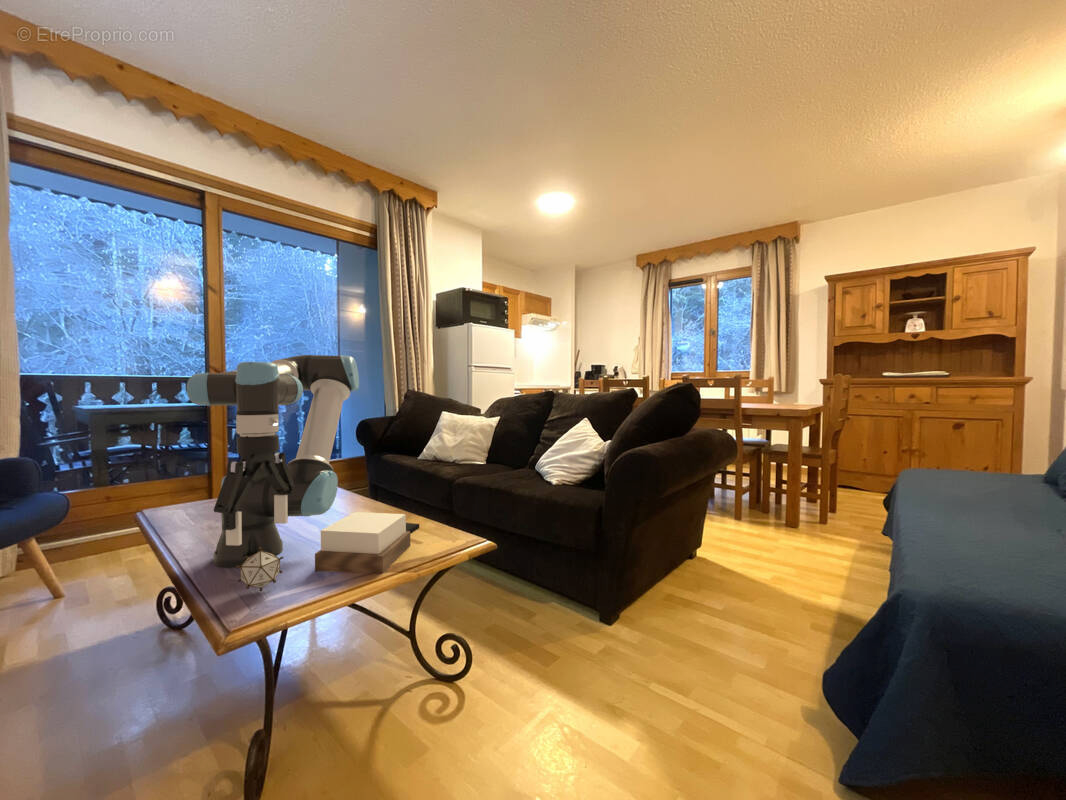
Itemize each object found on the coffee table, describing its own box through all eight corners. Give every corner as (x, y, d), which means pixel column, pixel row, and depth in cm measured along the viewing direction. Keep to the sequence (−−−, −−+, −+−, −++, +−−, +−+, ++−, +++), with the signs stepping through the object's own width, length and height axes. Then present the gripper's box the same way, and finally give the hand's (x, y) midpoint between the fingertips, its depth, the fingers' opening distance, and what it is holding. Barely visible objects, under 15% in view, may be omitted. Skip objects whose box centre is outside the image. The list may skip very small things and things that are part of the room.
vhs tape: (370, 544, 118) (370, 537, 118) (398, 528, 132) (398, 522, 132) (393, 547, 116) (393, 540, 116) (419, 530, 130) (419, 523, 130)
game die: (266, 603, 85) (265, 555, 85) (225, 602, 85) (224, 554, 85) (292, 582, 94) (292, 539, 93) (255, 582, 94) (255, 538, 94)
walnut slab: (315, 574, 99) (314, 553, 99) (351, 546, 116) (351, 529, 116) (383, 577, 98) (383, 556, 98) (410, 549, 115) (410, 531, 115)
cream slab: (320, 550, 101) (320, 530, 101) (355, 529, 116) (354, 512, 116) (378, 553, 99) (378, 533, 99) (405, 532, 114) (405, 514, 114)
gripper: (227, 441, 76) (228, 556, 76) (310, 429, 100) (311, 516, 101) (188, 441, 76) (190, 555, 77) (281, 429, 101) (282, 515, 101)
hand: (259, 533), depth 89 cm, fingers open, 13 cm apart
